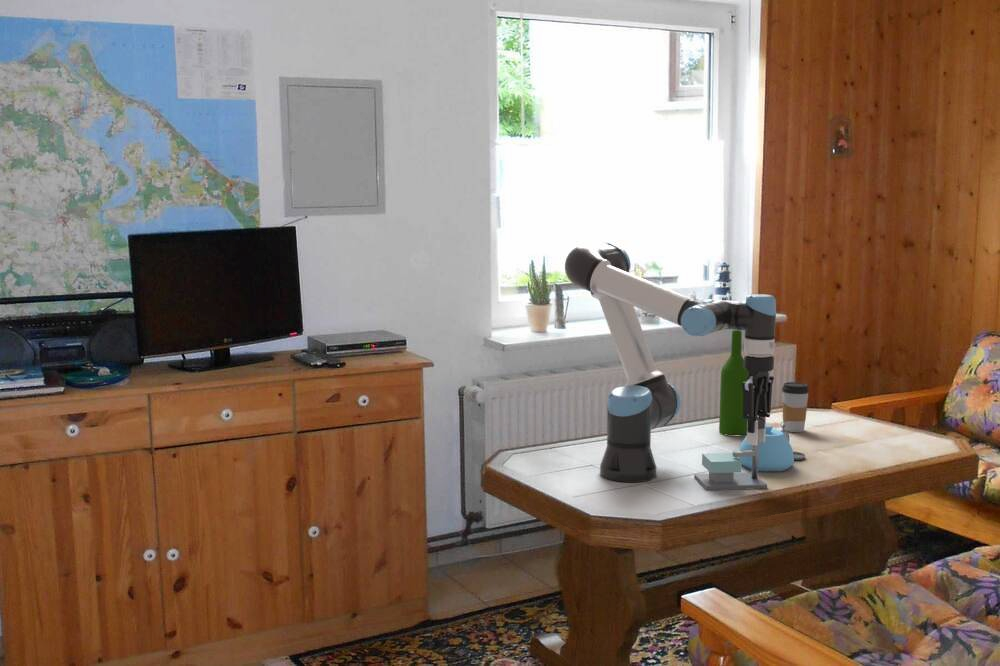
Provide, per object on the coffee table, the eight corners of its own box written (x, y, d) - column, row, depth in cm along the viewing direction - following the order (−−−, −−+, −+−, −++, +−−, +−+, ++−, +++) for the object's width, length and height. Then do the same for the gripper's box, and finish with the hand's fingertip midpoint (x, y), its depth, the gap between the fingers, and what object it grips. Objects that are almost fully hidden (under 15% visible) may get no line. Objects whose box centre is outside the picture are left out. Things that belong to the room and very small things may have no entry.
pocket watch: (806, 461, 277) (807, 427, 276) (775, 460, 279) (776, 425, 278) (803, 454, 285) (804, 420, 284) (773, 452, 287) (774, 419, 286)
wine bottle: (753, 435, 307) (756, 332, 302) (726, 437, 305) (730, 333, 300) (739, 428, 316) (743, 328, 311) (714, 430, 314) (717, 329, 309)
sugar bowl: (731, 459, 280) (732, 419, 279) (782, 458, 281) (784, 418, 280) (747, 474, 266) (748, 432, 264) (801, 473, 267) (803, 431, 265)
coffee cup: (810, 433, 309) (812, 387, 307) (784, 433, 309) (786, 386, 307) (802, 427, 317) (804, 381, 315) (777, 427, 317) (778, 381, 315)
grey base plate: (706, 490, 251) (706, 475, 251) (694, 477, 262) (694, 463, 262) (767, 488, 253) (767, 473, 252) (752, 476, 264) (753, 461, 263)
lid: (710, 473, 252) (711, 461, 252) (701, 464, 260) (702, 453, 260) (741, 472, 253) (741, 461, 253) (731, 463, 261) (731, 452, 260)
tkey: (738, 482, 254) (740, 421, 251) (728, 477, 258) (730, 416, 256) (762, 480, 256) (765, 419, 253) (752, 474, 260) (754, 414, 258)
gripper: (757, 360, 244) (754, 451, 248) (787, 352, 257) (783, 439, 260) (730, 357, 249) (727, 446, 253) (760, 349, 262) (757, 434, 265)
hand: (755, 442), depth 256 cm, fingers closed on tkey, 4 cm apart
